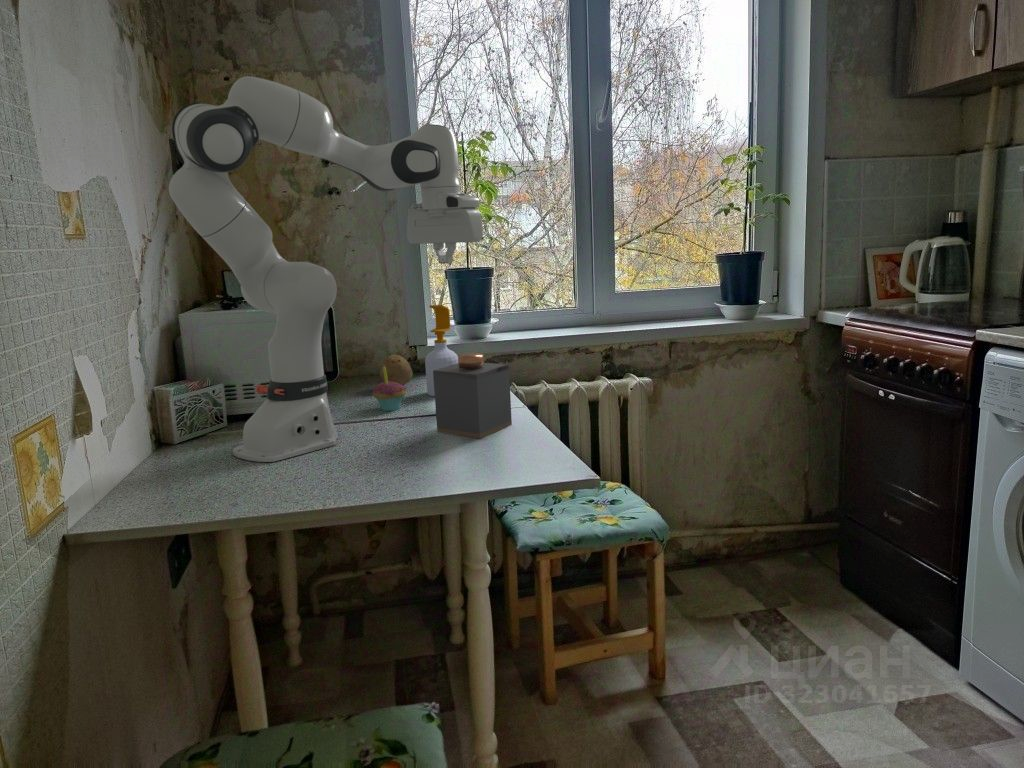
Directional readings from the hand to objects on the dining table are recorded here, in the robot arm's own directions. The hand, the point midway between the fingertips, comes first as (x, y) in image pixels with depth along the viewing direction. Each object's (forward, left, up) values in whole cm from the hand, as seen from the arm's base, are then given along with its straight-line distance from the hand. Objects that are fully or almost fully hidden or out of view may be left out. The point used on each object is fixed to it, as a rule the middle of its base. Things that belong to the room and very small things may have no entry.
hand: (445, 263), depth 162 cm
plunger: (-6, -11, -35) cm, 37 cm away
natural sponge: (+17, +35, -37) cm, 54 cm away
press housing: (-6, -11, -37) cm, 38 cm away
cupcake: (-1, +20, -37) cm, 42 cm away
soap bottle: (+18, +18, -37) cm, 45 cm away
